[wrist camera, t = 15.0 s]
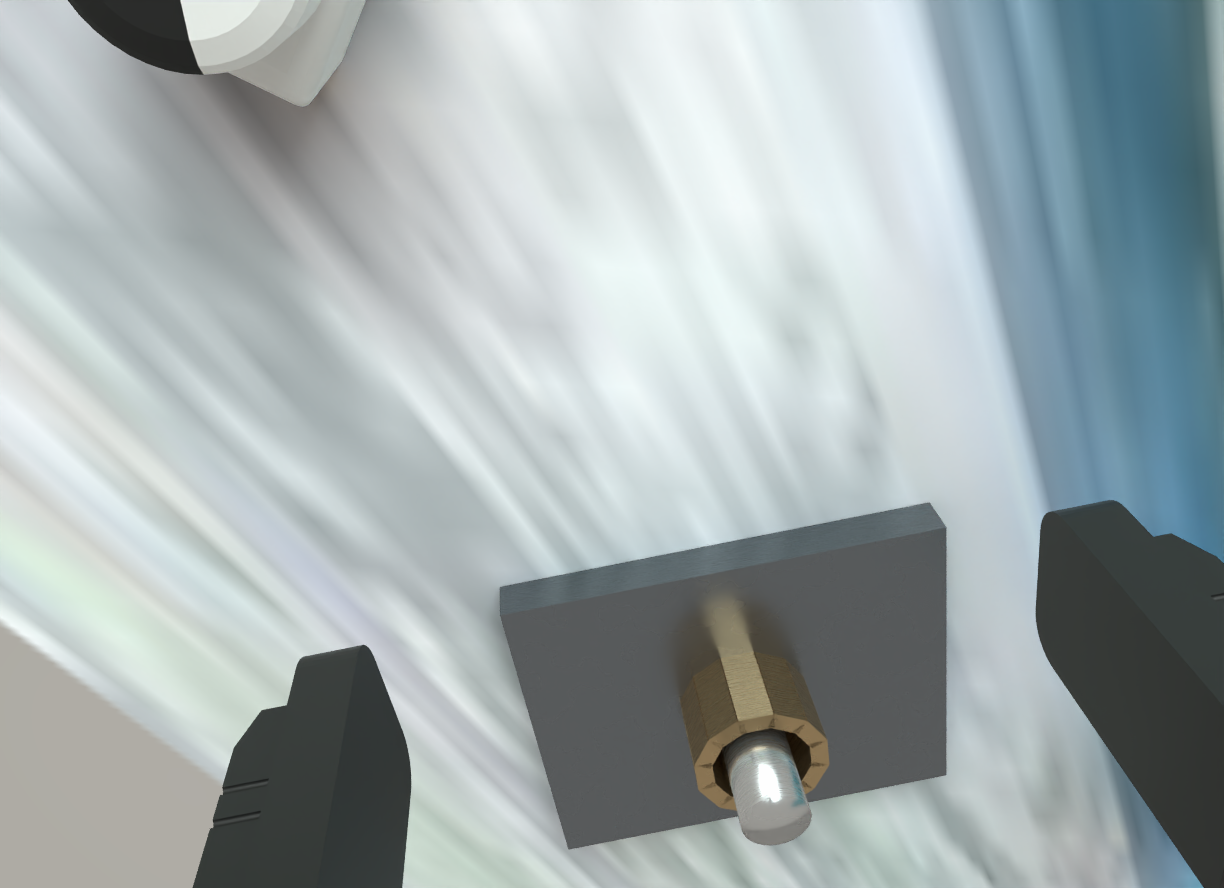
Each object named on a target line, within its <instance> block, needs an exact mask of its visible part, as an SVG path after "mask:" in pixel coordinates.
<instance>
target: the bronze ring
mask: <svg viewBox="0 0 1224 888" xmlns="http://www.w3.org/2000/svg"><path fill="white" fill-rule="evenodd" d="M680 704H681V709H682V715H683V720H684V725H685V730H686V735H687V739H688V744H689V748H690V753H691V758H692V762H693V767H694V772H695V776H696V781H697V785H698V790H699V791H700V792H701V793H702V794H703V795H705V796H706V797H707V798H708V799H710V800H711V801H712V802H713V803H715V804H716V805H717V806H718V807H720V808H724V809H730V810H735V811H737V809H736V805H735V801H734V797H733V793H732V789H731V785H730V781H729V777H728V773H727V769H726V765H725V761H724V757H723V753H722V748H723V747H724V746H726V745H727V744H729V743H730V742H732V741H733V740H735V739H736V738H738V737H740V736H741V735H743V734H744V733H749V732H754V731H759V730H764V729H769V728H773V729H778V730H783V731H785V734H786V737H787V741H788V744H789V747H790V750H791V753H792V756H793V759H794V762H795V765H796V768H797V771H798V774H799V777H800V780H801V783H802V786H803V789H804V792H805V794H807V793H808V792H810V791H812V790H813V789H814V788H815V787H816V785H817V784H818V782H819V780H820V779H821V777H822V776H823V774H824V773H825V771H826V769H827V768H828V766H829V753H828V742H827V738H826V735H825V732H824V730H823V727H822V724H821V722H820V719H819V716H818V714H817V711H816V708H815V706H814V703H813V700H812V698H811V695H810V692H809V690H808V687H807V684H806V682H805V679H804V677H803V676H802V675H801V674H800V673H799V672H798V671H797V670H796V669H795V668H794V667H793V666H792V665H791V664H790V663H789V662H788V661H787V660H786V659H784V658H781V657H776V656H772V655H767V654H763V653H758V652H749V653H744V654H739V655H734V656H729V657H724V658H721V659H718V660H717V661H715V662H714V663H712V664H711V665H709V666H708V667H706V668H705V669H703V670H702V671H700V672H699V673H697V674H696V675H695V676H693V677H692V679H691V681H690V683H689V685H688V687H687V689H686V691H685V693H684V695H683V696H682V698H681V700H680Z"/></svg>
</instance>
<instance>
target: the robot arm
mask: <svg viewBox="0 0 1224 888" xmlns="http://www.w3.org/2000/svg"><path fill="white" fill-rule="evenodd" d="M1036 623H1037V629H1038V634H1039V637H1040V641H1041V644H1042V647H1043V650H1044V652H1045V654H1046V657H1047V658H1048V660H1049V662H1050V664H1051V666H1052V667H1053V669H1054V670H1055V672H1056V673H1057V675H1058V676H1059V677H1060V679H1061V680H1062V682H1063V683H1064V685H1065V686H1066V688H1067V689H1068V691H1069V692H1070V693H1071V695H1072V696H1073V698H1074V699H1075V701H1076V702H1077V704H1078V705H1079V707H1080V708H1081V709H1082V711H1083V712H1084V714H1085V715H1086V717H1087V718H1088V720H1089V721H1090V723H1091V724H1092V726H1093V727H1094V728H1095V730H1096V731H1097V733H1098V734H1099V736H1100V737H1101V739H1102V740H1103V742H1104V743H1105V744H1106V746H1107V747H1108V749H1109V750H1110V752H1111V753H1112V755H1113V756H1114V758H1115V759H1116V760H1117V762H1118V763H1119V765H1120V766H1121V768H1122V769H1123V771H1124V772H1125V774H1126V775H1127V776H1128V778H1129V779H1130V781H1131V782H1132V784H1133V785H1134V787H1135V788H1136V790H1137V791H1138V793H1139V794H1140V795H1141V797H1142V798H1143V800H1144V801H1145V803H1146V804H1147V806H1148V807H1149V809H1150V810H1151V811H1152V813H1153V814H1154V816H1155V817H1156V819H1157V820H1158V822H1159V823H1160V825H1161V826H1162V827H1163V829H1164V830H1165V832H1166V833H1167V835H1168V836H1169V838H1170V839H1171V841H1172V842H1173V843H1174V845H1175V846H1176V848H1177V849H1178V851H1179V852H1180V854H1181V855H1182V857H1183V858H1184V860H1185V861H1186V862H1187V864H1188V865H1189V867H1190V868H1191V870H1192V871H1193V873H1194V874H1195V876H1196V877H1197V878H1198V880H1199V881H1200V883H1201V884H1202V886H1203V887H1204V888H1224V563H1223V562H1222V561H1221V560H1219V559H1218V558H1217V557H1216V556H1214V555H1212V554H1210V553H1208V552H1206V551H1204V550H1202V549H1201V548H1199V547H1197V546H1195V545H1193V544H1191V543H1189V542H1187V541H1185V540H1183V539H1181V538H1179V537H1177V536H1175V535H1173V534H1166V535H1161V536H1156V537H1153V536H1152V535H1151V534H1150V533H1149V532H1148V531H1147V530H1146V529H1145V528H1144V527H1143V526H1142V525H1141V524H1140V523H1139V522H1138V521H1137V519H1136V518H1135V517H1134V516H1133V515H1132V514H1131V513H1130V512H1129V511H1128V510H1127V509H1126V508H1125V507H1124V506H1123V505H1122V504H1120V503H1119V502H1117V501H1114V500H1108V501H1103V502H1098V503H1093V504H1088V505H1082V506H1077V507H1072V508H1067V509H1062V510H1057V511H1052V512H1048V513H1046V515H1045V516H1044V517H1043V520H1042V523H1041V530H1040V546H1039V563H1038V580H1037V597H1036ZM222 788H223V795H220V797H219V800H218V804H217V807H216V810H215V814H214V817H213V823H214V827H213V828H211V829H210V831H209V834H208V838H207V841H206V845H205V848H204V851H203V854H202V858H201V861H200V865H199V868H198V871H197V875H196V878H195V882H194V885H193V888H402V883H403V872H404V861H405V850H406V839H407V828H408V818H409V807H410V796H411V768H410V760H409V753H408V748H407V744H406V740H405V737H404V734H403V731H402V728H401V726H400V723H399V721H398V718H397V715H396V713H395V710H394V708H393V705H392V703H391V700H390V697H389V695H388V692H387V690H386V687H385V684H384V682H383V679H382V677H381V674H380V671H379V669H378V666H377V664H376V661H375V659H374V656H373V654H372V652H371V650H370V649H369V648H368V647H367V646H366V645H361V646H356V647H351V648H346V649H341V650H336V651H330V652H325V653H320V654H315V655H310V656H305V657H302V658H301V659H300V660H299V662H298V664H297V667H296V671H295V675H294V679H293V683H292V687H291V691H290V695H289V699H288V703H287V705H286V706H281V707H276V708H271V709H266V710H262V711H261V712H260V713H259V715H258V716H257V717H256V719H255V720H254V721H253V723H252V724H251V726H250V727H249V728H248V730H247V731H246V732H245V734H244V735H243V736H242V738H241V739H240V740H239V742H238V743H237V744H236V746H235V747H234V749H233V753H232V756H231V759H230V763H229V766H228V770H227V773H226V776H225V780H224V783H223V787H222Z"/></svg>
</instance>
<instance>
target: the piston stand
mask: <svg viewBox="0 0 1224 888" xmlns="http://www.w3.org/2000/svg"><path fill="white" fill-rule="evenodd" d="M500 616H501V620H502V623H503V627H504V630H505V634H506V637H507V640H508V644H509V647H510V651H511V654H512V657H513V661H514V664H515V668H516V671H517V675H518V678H519V681H520V685H521V688H522V692H523V695H524V699H525V702H526V705H527V709H528V712H529V716H530V719H531V722H532V726H533V729H534V733H535V736H536V740H537V743H538V746H539V750H540V753H541V757H542V760H543V764H544V767H545V770H546V774H547V777H548V781H549V784H550V787H551V791H552V794H553V798H554V801H555V805H556V808H557V811H558V815H559V818H560V822H561V825H562V828H563V832H564V835H565V839H566V842H567V846H568V849H574V848H579V847H584V846H589V845H594V844H599V843H604V842H609V841H614V840H619V839H624V838H629V837H634V836H640V835H645V834H650V833H655V832H660V831H665V830H670V829H675V828H680V827H685V826H690V825H695V824H701V823H706V822H711V821H716V820H721V819H726V818H731V817H736V816H738V817H739V821H740V824H741V828H742V832H743V834H744V835H745V836H746V837H747V838H748V839H749V840H750V841H752V842H755V843H757V844H762V845H777V844H782V843H786V842H789V841H791V840H793V839H795V838H797V837H798V836H800V835H801V834H802V833H803V832H804V831H805V830H806V829H807V827H808V826H809V824H810V822H811V810H810V807H809V804H808V802H812V801H817V800H822V799H827V798H833V797H838V796H843V795H848V794H853V793H858V792H863V791H868V790H873V789H878V788H883V787H888V786H893V785H899V784H904V783H909V782H914V781H919V780H924V779H929V778H934V777H939V776H944V775H946V526H945V525H944V523H943V522H942V520H941V519H940V517H939V516H938V514H937V513H936V511H935V510H934V508H933V507H932V505H931V504H930V503H925V504H920V505H915V506H910V507H905V508H900V509H895V510H890V511H885V512H880V513H875V514H870V515H865V516H859V517H854V518H849V519H844V520H839V521H834V522H829V523H824V524H819V525H814V526H809V527H804V528H799V529H793V530H788V531H783V532H778V533H773V534H768V535H763V536H758V537H753V538H748V539H743V540H738V541H732V542H727V543H722V544H717V545H712V546H707V547H702V548H697V549H692V550H687V551H682V552H677V553H672V554H666V555H661V556H656V557H651V558H646V559H641V560H636V561H631V562H626V563H621V564H616V565H611V566H606V567H600V568H595V569H590V570H585V571H580V572H575V573H570V574H565V575H560V576H555V577H550V578H545V579H539V580H534V581H529V582H524V583H519V584H514V585H509V586H504V587H500ZM749 652H758V653H763V654H767V655H772V656H776V657H781V658H784V659H786V660H787V661H788V662H789V663H790V664H791V665H792V666H793V667H794V668H795V669H796V670H797V671H798V672H799V673H800V674H801V675H802V676H803V677H804V679H805V682H806V684H807V687H808V690H809V692H810V695H811V698H812V700H813V703H814V706H815V708H816V711H817V714H818V716H819V719H820V722H821V724H822V727H823V730H824V732H825V735H826V738H827V742H828V753H829V766H828V768H827V769H826V771H825V773H824V774H823V776H822V777H821V779H820V780H819V782H818V784H817V785H816V787H815V788H814V789H813V790H812V791H810V792H808V793H807V794H805V792H804V789H803V786H802V783H801V780H800V777H799V774H798V771H797V768H796V765H795V762H794V759H793V756H792V753H791V750H790V747H789V744H788V741H787V737H786V734H785V731H783V730H778V729H773V728H769V729H764V730H759V731H754V732H749V733H744V734H743V735H741V736H740V737H738V738H736V739H735V740H733V741H732V742H730V743H729V744H727V745H726V746H724V747H723V748H722V753H723V757H724V761H725V765H726V769H727V773H728V777H729V781H730V785H731V789H732V793H733V797H734V801H735V805H736V809H737V811H735V810H730V809H724V808H720V807H718V806H717V805H716V804H715V803H713V802H712V801H711V800H710V799H708V798H707V797H706V796H705V795H703V794H702V793H701V792H700V791H699V790H698V785H697V781H696V776H695V772H694V767H693V762H692V758H691V753H690V748H689V744H688V739H687V735H686V730H685V725H684V720H683V715H682V709H681V704H680V700H681V698H682V696H683V695H684V693H685V691H686V689H687V687H688V685H689V683H690V681H691V679H692V677H693V676H695V675H696V674H697V673H699V672H700V671H702V670H703V669H705V668H706V667H708V666H709V665H711V664H712V663H714V662H715V661H717V660H718V659H721V658H724V657H729V656H734V655H739V654H744V653H749Z"/></svg>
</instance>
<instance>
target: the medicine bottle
mask: <svg viewBox="0 0 1224 888" xmlns="http://www.w3.org/2000/svg"><path fill="white" fill-rule="evenodd" d="M68 1H69V2H70V4H71V5H72V6H73V7H74V9H75V10H76V11H77V12H78V14H79V15H80V16H81V17H82V18H83V19H84V20H85V21H86V22H87V23H88V24H89V25H90V26H91V27H92V28H93V29H94V30H95V31H96V32H97V33H99V34H100V35H101V36H102V37H104V38H105V39H106V40H107V41H109V42H110V43H111V44H113V45H114V46H116V47H117V48H119V49H121V50H122V51H124V52H125V53H127V54H129V55H130V56H132V57H135V58H137V59H139V60H141V61H143V62H145V63H147V64H150V65H153V66H156V67H159V68H162V69H165V70H169V71H174V72H179V73H184V74H199V75H207V74H219V73H225V72H228V73H230V74H232V75H234V76H236V77H238V78H240V79H242V80H244V81H247V82H249V83H251V84H253V85H255V86H257V87H259V88H261V89H263V90H265V91H267V92H269V93H271V94H273V95H275V96H278V97H280V98H282V99H284V100H286V101H288V102H290V103H292V104H294V105H297V106H301V107H304V106H307V105H309V104H310V103H311V102H312V100H313V99H314V98H315V96H316V95H317V94H318V92H319V91H320V90H321V88H322V87H323V86H324V85H325V83H326V82H327V81H328V79H329V78H330V77H331V75H332V74H333V73H334V71H335V70H336V69H337V67H338V66H339V65H340V63H341V62H342V61H343V58H344V56H345V53H346V51H347V48H348V45H349V43H350V40H351V38H352V35H353V33H354V30H355V27H356V25H357V22H358V20H359V17H360V15H361V12H362V9H363V7H364V4H365V2H366V0H68Z"/></svg>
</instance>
